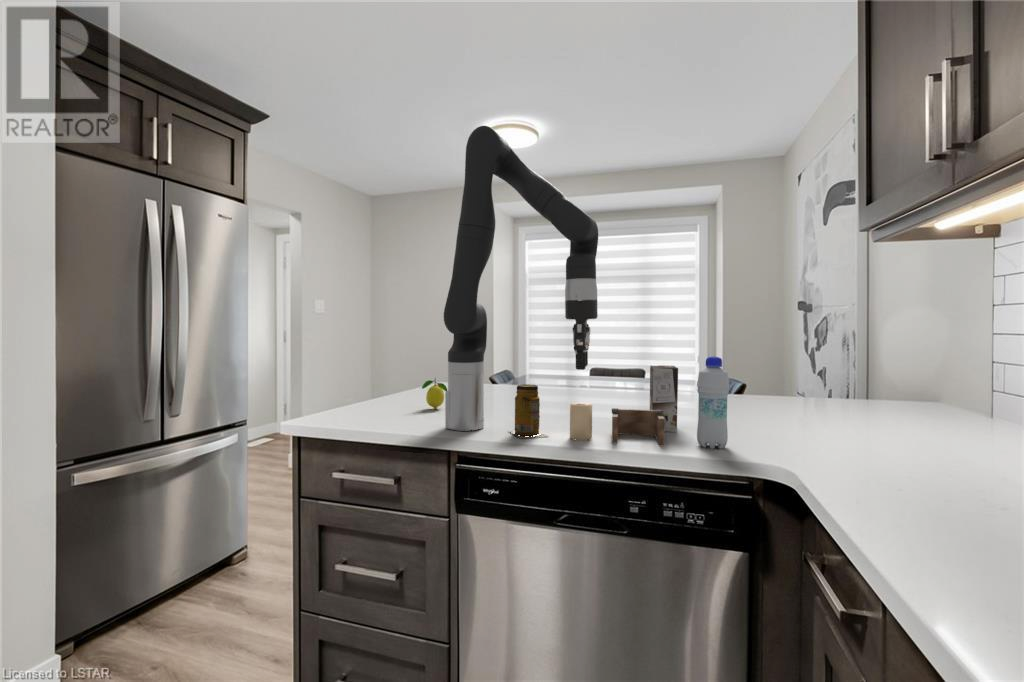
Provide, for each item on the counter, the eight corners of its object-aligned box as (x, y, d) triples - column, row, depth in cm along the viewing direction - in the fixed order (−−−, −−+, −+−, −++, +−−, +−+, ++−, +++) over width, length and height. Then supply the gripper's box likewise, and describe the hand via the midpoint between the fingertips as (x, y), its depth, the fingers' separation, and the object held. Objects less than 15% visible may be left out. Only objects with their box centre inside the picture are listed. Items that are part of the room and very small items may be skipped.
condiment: (534, 430, 129) (535, 383, 128) (548, 437, 121) (548, 387, 120) (507, 432, 126) (508, 384, 126) (520, 439, 118) (520, 388, 118)
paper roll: (568, 439, 118) (569, 405, 117) (570, 435, 123) (571, 402, 122) (591, 441, 117) (591, 406, 116) (592, 436, 122) (592, 402, 121)
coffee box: (678, 432, 126) (678, 368, 125) (651, 431, 127) (652, 367, 127) (673, 425, 135) (674, 365, 134) (648, 424, 136) (649, 364, 136)
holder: (611, 442, 115) (611, 412, 114) (611, 432, 126) (612, 404, 125) (665, 445, 112) (665, 414, 112) (661, 434, 123) (661, 406, 123)
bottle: (727, 444, 114) (728, 355, 113) (729, 451, 107) (731, 357, 107) (695, 441, 116) (697, 355, 115) (696, 448, 110) (697, 357, 109)
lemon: (421, 410, 157) (421, 378, 156) (427, 407, 162) (427, 376, 162) (442, 410, 156) (442, 378, 155) (447, 407, 161) (447, 376, 161)
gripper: (568, 300, 126) (568, 365, 127) (562, 298, 112) (562, 370, 113) (598, 300, 125) (599, 365, 125) (596, 297, 111) (596, 370, 111)
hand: (581, 367), depth 119 cm, fingers open, 8 cm apart
